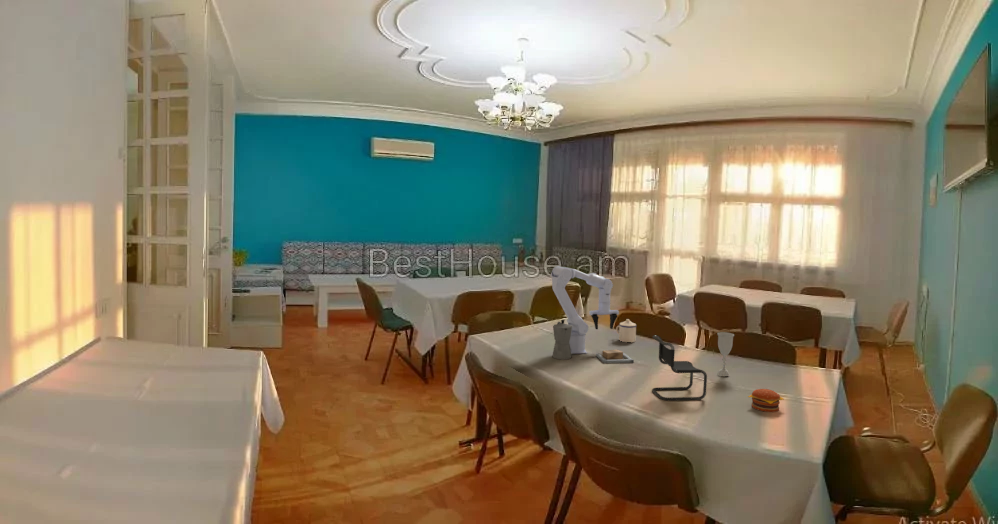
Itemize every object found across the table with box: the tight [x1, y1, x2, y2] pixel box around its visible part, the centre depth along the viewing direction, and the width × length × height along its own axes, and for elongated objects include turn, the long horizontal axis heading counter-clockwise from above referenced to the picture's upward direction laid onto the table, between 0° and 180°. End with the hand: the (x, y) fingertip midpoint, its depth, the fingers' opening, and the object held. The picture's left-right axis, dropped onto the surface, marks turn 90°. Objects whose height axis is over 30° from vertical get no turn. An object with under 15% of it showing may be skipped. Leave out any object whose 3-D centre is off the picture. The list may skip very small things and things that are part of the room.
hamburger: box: [747, 388, 785, 413], centre depth 206 cm, size 9×10×7 cm
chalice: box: [717, 331, 735, 377], centre depth 245 cm, size 7×7×18 cm
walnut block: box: [601, 349, 624, 360], centre depth 269 cm, size 8×5×4 cm, turn 109°
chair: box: [651, 335, 708, 402], centre depth 218 cm, size 13×17×22 cm
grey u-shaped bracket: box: [595, 352, 635, 364], centre depth 269 cm, size 14×12×1 cm
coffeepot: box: [552, 319, 572, 360], centre depth 272 cm, size 15×9×18 cm, turn 8°
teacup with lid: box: [615, 318, 637, 343], centre depth 307 cm, size 12×9×12 cm
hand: (603, 328), depth 286 cm, fingers open, 7 cm apart
